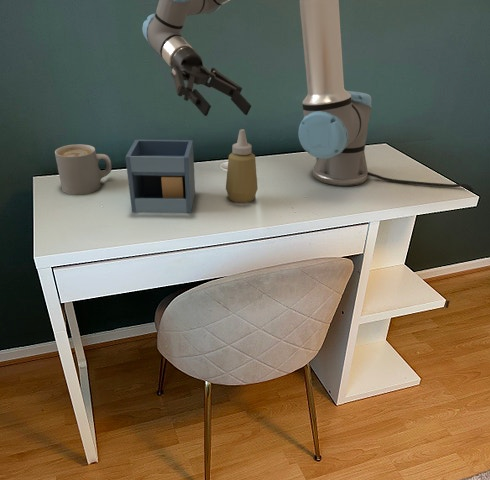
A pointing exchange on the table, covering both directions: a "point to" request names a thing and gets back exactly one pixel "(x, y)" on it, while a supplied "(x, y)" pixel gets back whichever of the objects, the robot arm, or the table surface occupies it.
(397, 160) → the table surface
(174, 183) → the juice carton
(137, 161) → the grey storage cubby
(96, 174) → the coffee mug
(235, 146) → the squeeze bottle
